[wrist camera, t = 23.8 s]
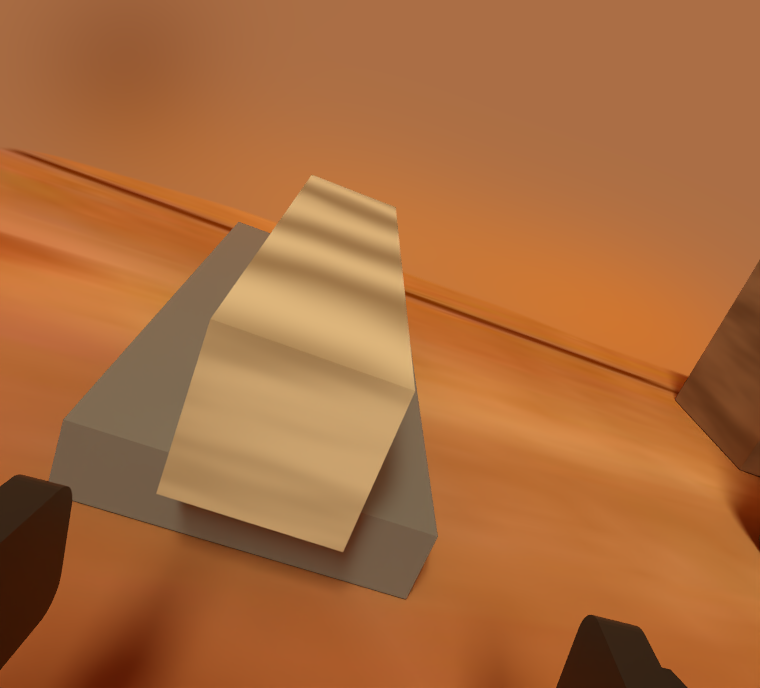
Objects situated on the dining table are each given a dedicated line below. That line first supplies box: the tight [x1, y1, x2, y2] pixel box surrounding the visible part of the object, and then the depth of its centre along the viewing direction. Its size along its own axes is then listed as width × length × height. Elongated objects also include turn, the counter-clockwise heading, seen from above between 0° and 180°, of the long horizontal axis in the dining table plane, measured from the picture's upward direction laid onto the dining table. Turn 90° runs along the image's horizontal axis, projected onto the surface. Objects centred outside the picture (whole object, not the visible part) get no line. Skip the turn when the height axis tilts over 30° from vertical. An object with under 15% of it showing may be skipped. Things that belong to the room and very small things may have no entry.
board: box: [49, 222, 438, 599], centre depth 32 cm, size 26×11×2 cm, turn 1°
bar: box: [156, 175, 415, 552], centre depth 28 cm, size 24×5×5 cm, turn 0°
